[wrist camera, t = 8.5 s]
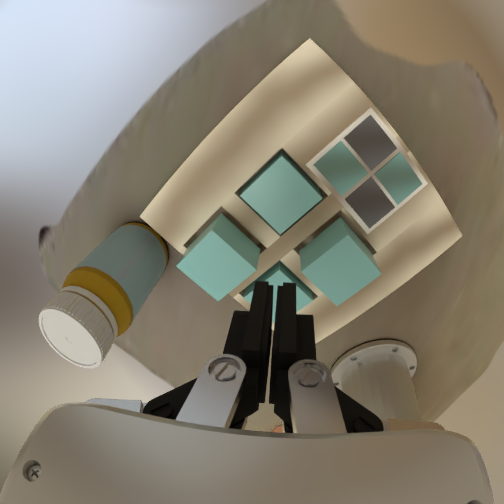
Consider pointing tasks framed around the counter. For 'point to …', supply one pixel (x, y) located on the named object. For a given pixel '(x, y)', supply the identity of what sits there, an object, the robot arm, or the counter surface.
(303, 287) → the button
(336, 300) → the button
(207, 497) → the robot arm
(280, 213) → the button
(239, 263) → the button
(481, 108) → the counter surface
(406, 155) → the button board
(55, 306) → the bottle
